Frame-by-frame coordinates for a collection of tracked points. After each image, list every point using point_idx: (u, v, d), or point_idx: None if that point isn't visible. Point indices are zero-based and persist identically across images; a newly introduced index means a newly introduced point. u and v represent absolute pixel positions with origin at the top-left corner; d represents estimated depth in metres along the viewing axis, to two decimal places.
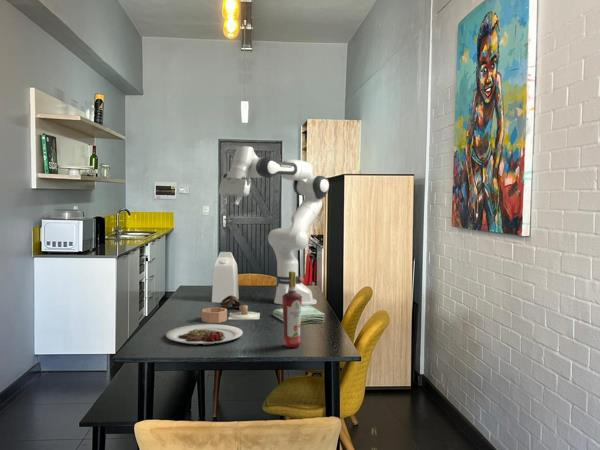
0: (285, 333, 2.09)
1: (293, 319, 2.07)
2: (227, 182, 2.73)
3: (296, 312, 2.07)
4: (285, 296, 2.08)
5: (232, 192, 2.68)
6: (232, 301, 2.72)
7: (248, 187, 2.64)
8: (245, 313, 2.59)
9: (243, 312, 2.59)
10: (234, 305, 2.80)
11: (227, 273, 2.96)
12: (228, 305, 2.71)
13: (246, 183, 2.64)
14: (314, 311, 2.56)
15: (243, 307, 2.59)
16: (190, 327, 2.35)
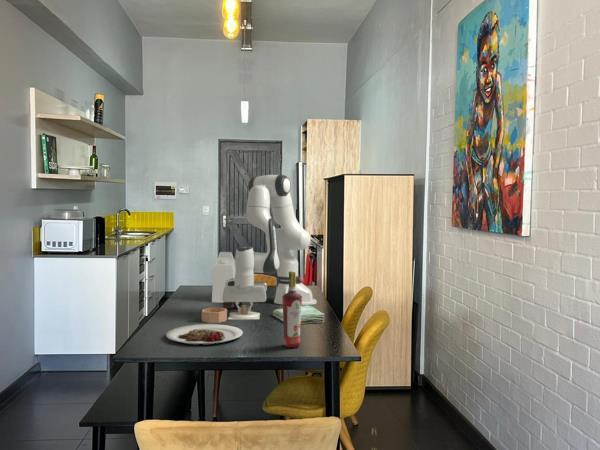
0: (285, 333, 2.09)
1: (293, 319, 2.07)
2: (234, 289, 2.58)
3: (296, 312, 2.07)
4: (285, 296, 2.08)
5: (248, 300, 2.59)
6: None
7: None
8: (245, 313, 2.59)
9: (243, 312, 2.59)
10: None
11: (227, 273, 2.96)
12: (230, 305, 2.71)
13: (265, 290, 2.60)
14: (314, 311, 2.56)
15: (243, 307, 2.59)
16: (190, 327, 2.35)
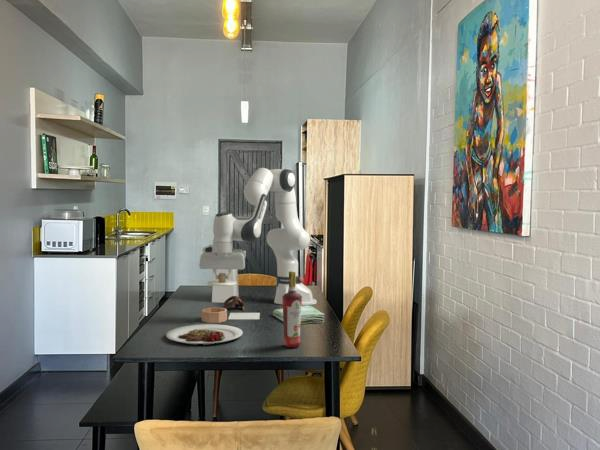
0: (285, 333, 2.09)
1: (293, 319, 2.07)
2: (212, 256, 2.50)
3: (296, 312, 2.07)
4: (285, 296, 2.08)
5: (226, 267, 2.51)
6: (235, 301, 2.72)
7: (244, 260, 2.54)
8: (223, 281, 2.51)
9: (221, 280, 2.51)
10: (237, 305, 2.79)
11: (227, 273, 2.96)
12: (231, 305, 2.70)
13: (243, 257, 2.52)
14: (314, 311, 2.56)
15: (221, 274, 2.51)
16: (190, 327, 2.35)
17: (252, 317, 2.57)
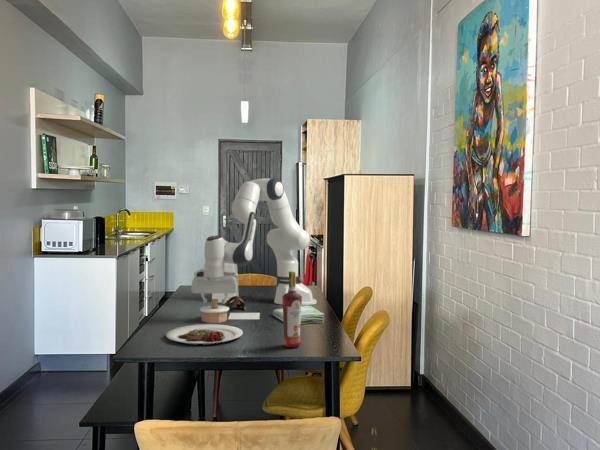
0: (285, 333, 2.09)
1: (292, 319, 2.07)
2: (204, 280, 2.49)
3: (296, 312, 2.07)
4: (285, 296, 2.08)
5: (218, 291, 2.50)
6: (237, 301, 2.71)
7: (236, 283, 2.52)
8: (215, 307, 2.50)
9: (213, 306, 2.50)
10: (238, 305, 2.79)
11: None
12: (233, 306, 2.70)
13: (235, 280, 2.51)
14: (314, 311, 2.56)
15: (213, 301, 2.50)
16: (190, 327, 2.35)
17: (252, 317, 2.57)
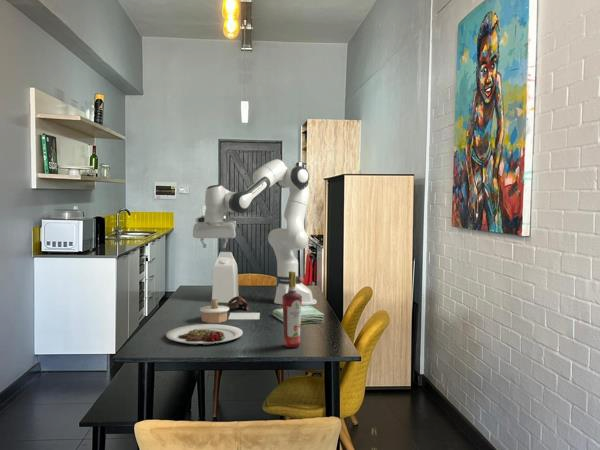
0: (285, 333, 2.09)
1: (293, 319, 2.07)
2: (204, 226, 2.68)
3: (296, 312, 2.07)
4: (285, 296, 2.08)
5: (217, 236, 2.68)
6: (239, 302, 2.71)
7: None
8: (215, 307, 2.50)
9: (213, 306, 2.50)
10: (241, 306, 2.78)
11: (227, 273, 2.96)
12: (236, 306, 2.70)
13: (234, 226, 2.69)
14: (313, 311, 2.56)
15: (213, 301, 2.50)
16: (190, 327, 2.35)
17: (252, 317, 2.57)
